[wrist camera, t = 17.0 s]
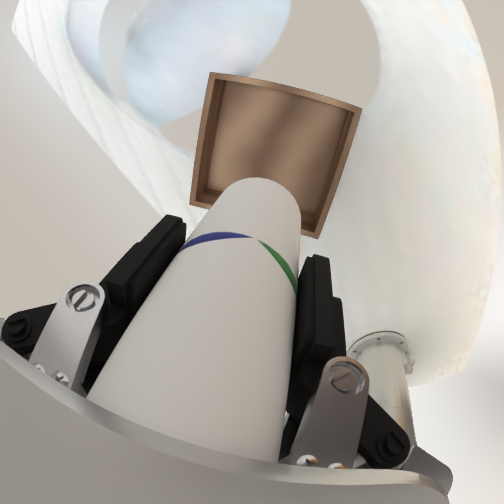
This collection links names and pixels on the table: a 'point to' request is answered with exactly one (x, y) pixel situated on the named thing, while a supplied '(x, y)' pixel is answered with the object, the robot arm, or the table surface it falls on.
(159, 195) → the table surface
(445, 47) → the table surface
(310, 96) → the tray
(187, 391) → the tube
